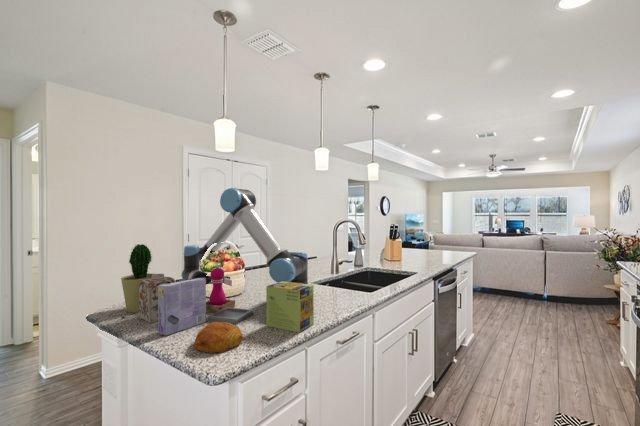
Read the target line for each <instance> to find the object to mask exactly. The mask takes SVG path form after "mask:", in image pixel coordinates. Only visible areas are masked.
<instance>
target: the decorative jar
mask: <svg viewBox="0 0 640 426" xmlns="http://www.w3.org/2000/svg"><path fill="white" fill-rule="evenodd" d="M175 282H176V280H175V278H173V277H171V276H165V274H164V273H153V275H152V278H148V279H145V280H143V281H142V282H141V283H140V285H139V312H138V317H139V318H141V319H142V320H144V321H146V322H147V323H149V324H152V323H156V322H157V323H158V286H159V285H164V284H170V283H175Z"/></svg>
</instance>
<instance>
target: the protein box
mask: <svg viewBox="0 0 640 426" xmlns="http://www.w3.org/2000/svg"><path fill="white" fill-rule="evenodd" d="M265 293H266V299H265V300H266V309H265V310H266V313H265V314H266V327H269V328H274V329H280V330H284V331H290V332H295V333H299V334H300V333H302V332H303V331H305V330H307V329H308V328H310V327H311V326H314V324H315V323H314V320H315V319H314V318H315V317H314V316H315V315H314V312H315V311H314V308H315V307H314V306H315V305H314V284H310V283H308V284H302V283H292V282H283V281H282V282H279V283H278V282H275V283H272V284H269V285H266V292H265Z"/></svg>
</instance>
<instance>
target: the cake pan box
mask: <svg viewBox="0 0 640 426" xmlns="http://www.w3.org/2000/svg"><path fill="white" fill-rule="evenodd" d="M206 285H207V284H206V279H205V278H197V279H192V280H186V281H185V280H181V281H175V283H170V284H164V285H159V286H158V321H157V326H158V327H157V331H158V334H159V335H161V336H162V335H163V336H164V337H167V336H170V335H173V334H175V333H178V332H181V331H184V330H188V329H191V328H193V327H196V326H198V325H201V324H205V323H207V312H206V302H207V300H206V299H207V295H206V293H207V290H206V288H207V286H206Z"/></svg>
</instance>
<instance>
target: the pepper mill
mask: <svg viewBox="0 0 640 426" xmlns="http://www.w3.org/2000/svg"><path fill="white" fill-rule="evenodd" d="M214 267H215V268H213V269H212V270H211V271H210V274H209V276H211V277H212V281H211V282H212V283H213V284H212V291H211V292H210V295H209V298H208V299H209V300H208V301H209V302H210V303H211V304H212V305H215V306H222V305H224V302H225V301H226V299H227V296H226V293H225V291H224V289H223V283H222V282H223V277H225V271H224V269H223V268H220V264H216V265H215V266H214Z"/></svg>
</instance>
